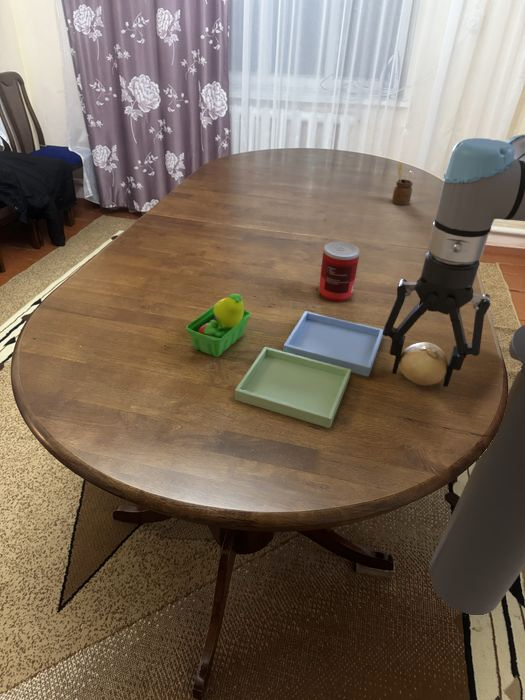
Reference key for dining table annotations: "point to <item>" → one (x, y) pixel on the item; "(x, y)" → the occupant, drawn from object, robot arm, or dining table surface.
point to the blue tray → (335, 342)
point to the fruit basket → (219, 326)
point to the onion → (424, 363)
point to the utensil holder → (402, 189)
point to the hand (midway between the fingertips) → (420, 375)
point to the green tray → (294, 386)
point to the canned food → (338, 271)
